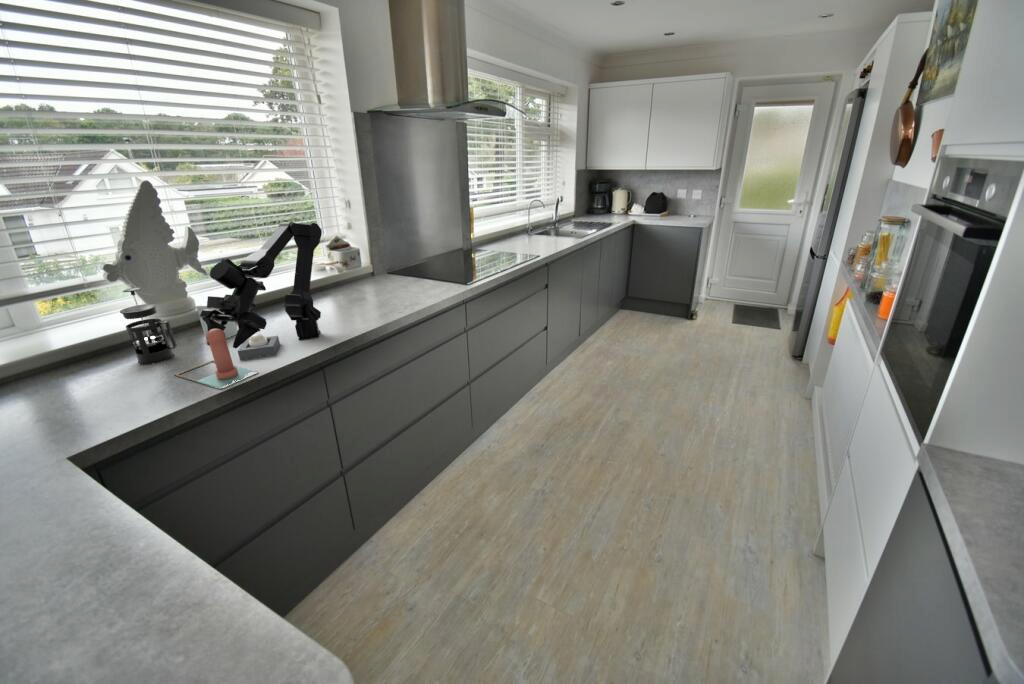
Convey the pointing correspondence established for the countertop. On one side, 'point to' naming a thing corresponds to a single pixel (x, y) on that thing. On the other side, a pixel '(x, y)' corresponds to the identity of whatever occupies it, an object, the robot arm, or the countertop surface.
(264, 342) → the cream white ball
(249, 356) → the box
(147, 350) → the french press
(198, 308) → the supplement box
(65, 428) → the countertop surface
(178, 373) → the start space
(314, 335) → the robot arm
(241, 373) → the tile
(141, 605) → the countertop surface
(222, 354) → the pawn
